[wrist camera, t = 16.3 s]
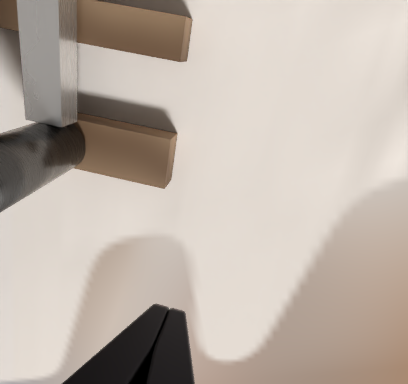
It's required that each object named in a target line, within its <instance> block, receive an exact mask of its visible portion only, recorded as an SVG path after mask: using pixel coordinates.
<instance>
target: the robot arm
mask: <svg viewBox="0 0 408 384" xmlns="http://www.w3.org/2000/svg"><path fill="white" fill-rule="evenodd" d="M193 375H194V374H193V367H192V359H191V351H190V344H189V336H188V329H187V322H186V314H185V312H184V311H182V310H178V309H174V308H170V310H169V308H168V307H166V306H163V305H159V304H153V305H152V306H151V307H150V308H149V309H147V310H146V311H145V312H144V313H143V314H142V315H141V316H139V317H138V318H137V319H136V320H135V321H134V322H132V323H131V324H130V325H129V326H128V327H127V328H126V329H124V330H123V331H122V332H121V333H120V334H119V335H118V336H116V337H115V338H114V339H113V340H112V341H111V342H109V343H108V344H107V345H106V346H105V347H104V348H102V349H101V350H100V351H99V352H98V353H97V354H96V355H94V356H93V357H92V358H91V359H90V360H89V361H88V362H86V363H85V364H84V365H83V366H82V367H81V368H79V369H78V370H77V371H76V372H75V373H74V374H73V375H71V376H70V377H69V378H68V379H67V380H66V381H64V382H63V383H62V384H195V382H194V376H193Z"/></svg>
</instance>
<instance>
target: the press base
mask: <svg viewBox="0 0 408 384" xmlns="http://www.w3.org/2000/svg"><path fill="white" fill-rule="evenodd" d="M191 26H192V19H190V18H188V17H186V16H181V15H175V14H170V13H164V12H158V11H153V10H147V9H142V8H136V7H130V6H125V5H119V4H113V3H108V2H102V1H96V0H77V42H78V43H84V44H89V45H94V46H99V47H104V48H110V49H115V50H120V51H125V52H131V53H136V54H141V55H146V56H152V57H157V58H162V59H167V60H173V61H178V62H184V61H187V56H188V49H189V41H190V34H191ZM0 28H5V29H10V30H15V31H19V25H18V12H17V0H0ZM72 124H73V125H75V126H76V127H77V128H78V130H79V131H80V132H81V134H82V136H83V138H84V141H85V146H86V151H85V156H84V159H83V160H82V162H81V163H80V164H79V165H77V166H76V167H74V168H75V169H80V170H84V171H88V172H93V173H97V174H102V175H106V176H110V177H115V178H119V179H124V180H128V181H132V182H137V183H141V184H146V185H150V186H154V187H159V188H163V189H165V187H166V186H167V185H168V183H169V182H170V181H171V177H172V170H173V162H174V155H175V147H176V140H177V133H173V132H168V131H163V130H159V129H154V128H149V127H145V126H140V125H135V124H130V123H126V122H121V121H116V120H111V119H107V118H102V117H97V116H92V115H88V114H83V113H78V112H77V122H75V123H72Z"/></svg>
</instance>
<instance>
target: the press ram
mask: <svg viewBox="0 0 408 384" xmlns="http://www.w3.org/2000/svg"><path fill="white" fill-rule="evenodd" d="M17 12H18V25H19V39H20V52H21V65H22V78H23V92H24V105H25V118H26V120H30V121H35V122H36V123H33V124H30V125H26V126H23V127H20V128H17V129H13V130H10V131H7V132H4V133H0V212H2V211H3V210H5V209H7V208H8V207H10V206H12V205H13V204H15V203H16V202H18V201H20V200H21V199H23V198H25V197H26V196H28V195H30V194H31V193H33V192H35V191H36V190H38V189H39V188H41V187H43V186H44V185H46V184H48V183H49V182H51V181H53V180H54V179H56V178H58V177H59V176H61V175H63V174H64V173H66V172H67V171H69V170H71V169H72V168H74V167H76V166H77V165H79V164H80V163H81V162H82V160H83V159H84V156H85V151H86V146H85V141H84V138H83V136H82V134H81V132H80V131H79V130H78V128H77V127H76V126H75V125H73V124H72V123H75V122H77V0H17Z"/></svg>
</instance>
